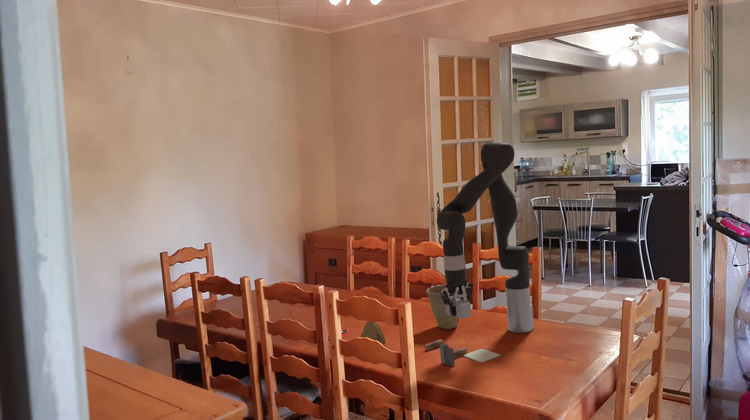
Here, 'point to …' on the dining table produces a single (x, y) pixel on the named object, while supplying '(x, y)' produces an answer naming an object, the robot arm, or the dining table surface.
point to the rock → (373, 332)
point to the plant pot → (441, 308)
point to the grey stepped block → (447, 354)
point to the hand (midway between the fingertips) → (459, 314)
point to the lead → (461, 309)
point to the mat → (481, 355)
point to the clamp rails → (437, 343)
